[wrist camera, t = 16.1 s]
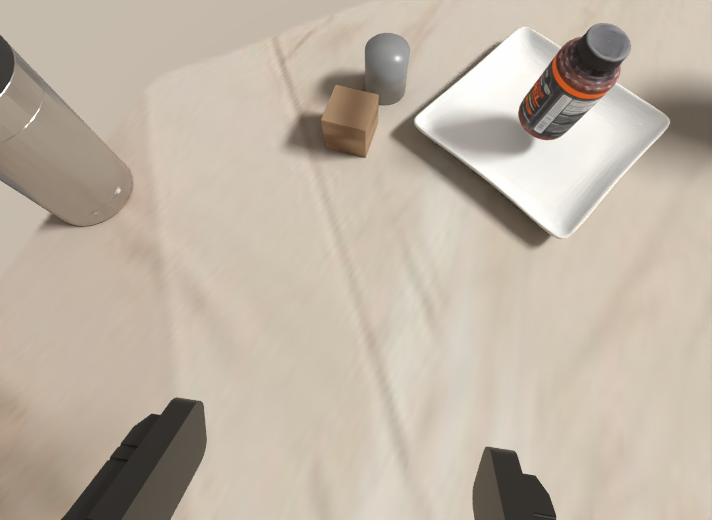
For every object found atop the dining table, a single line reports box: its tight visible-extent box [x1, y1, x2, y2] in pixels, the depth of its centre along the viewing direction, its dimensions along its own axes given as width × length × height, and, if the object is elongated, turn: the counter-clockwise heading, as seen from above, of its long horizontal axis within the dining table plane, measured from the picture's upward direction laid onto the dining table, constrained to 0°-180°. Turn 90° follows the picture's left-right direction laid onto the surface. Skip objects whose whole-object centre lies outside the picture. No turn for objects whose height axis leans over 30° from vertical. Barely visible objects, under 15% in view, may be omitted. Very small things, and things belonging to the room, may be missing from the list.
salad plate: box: [414, 27, 670, 239], centre depth 48 cm, size 21×21×3 cm
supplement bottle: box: [518, 23, 631, 140], centre depth 41 cm, size 6×6×11 cm
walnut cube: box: [321, 85, 379, 158], centre depth 48 cm, size 5×5×5 cm
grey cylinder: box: [365, 33, 410, 105], centre depth 49 cm, size 5×5×6 cm
